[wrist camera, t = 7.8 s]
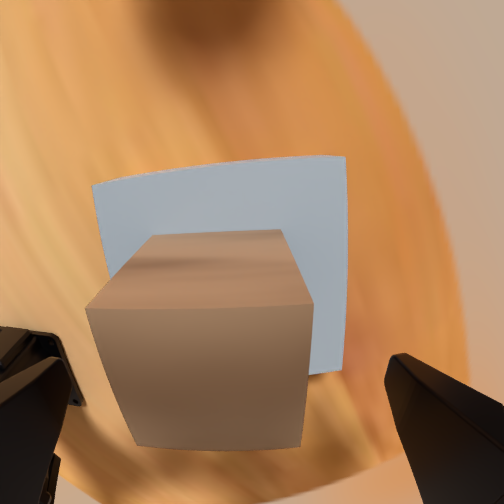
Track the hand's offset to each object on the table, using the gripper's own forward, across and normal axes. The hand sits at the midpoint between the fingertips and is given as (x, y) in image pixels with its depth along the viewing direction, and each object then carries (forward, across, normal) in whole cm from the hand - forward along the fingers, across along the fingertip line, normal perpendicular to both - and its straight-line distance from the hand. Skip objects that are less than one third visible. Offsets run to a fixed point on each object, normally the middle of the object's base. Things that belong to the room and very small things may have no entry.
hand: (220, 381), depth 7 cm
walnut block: (+6, 0, 0) cm, 6 cm away
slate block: (+10, 0, 0) cm, 10 cm away
